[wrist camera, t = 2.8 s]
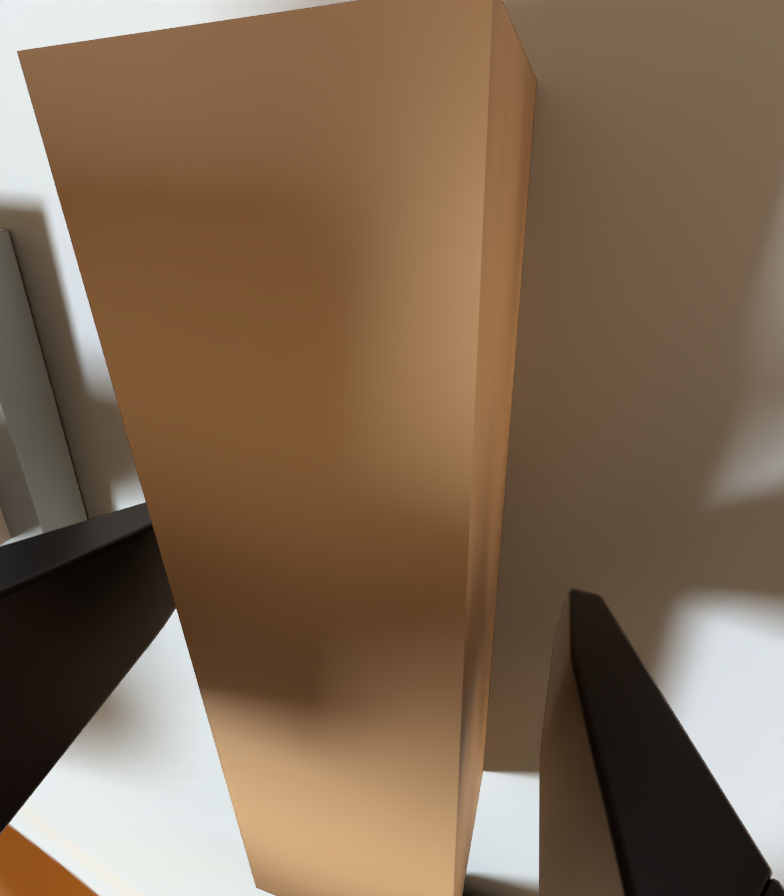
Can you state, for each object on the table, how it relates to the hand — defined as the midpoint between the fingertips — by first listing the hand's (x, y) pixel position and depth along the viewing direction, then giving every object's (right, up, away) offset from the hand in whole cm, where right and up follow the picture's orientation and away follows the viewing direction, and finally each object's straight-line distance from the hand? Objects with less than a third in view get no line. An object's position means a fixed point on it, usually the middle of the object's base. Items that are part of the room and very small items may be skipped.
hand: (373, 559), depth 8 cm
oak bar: (0, +1, +1) cm, 1 cm away
